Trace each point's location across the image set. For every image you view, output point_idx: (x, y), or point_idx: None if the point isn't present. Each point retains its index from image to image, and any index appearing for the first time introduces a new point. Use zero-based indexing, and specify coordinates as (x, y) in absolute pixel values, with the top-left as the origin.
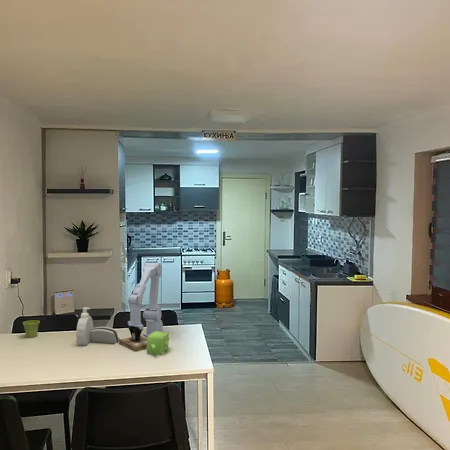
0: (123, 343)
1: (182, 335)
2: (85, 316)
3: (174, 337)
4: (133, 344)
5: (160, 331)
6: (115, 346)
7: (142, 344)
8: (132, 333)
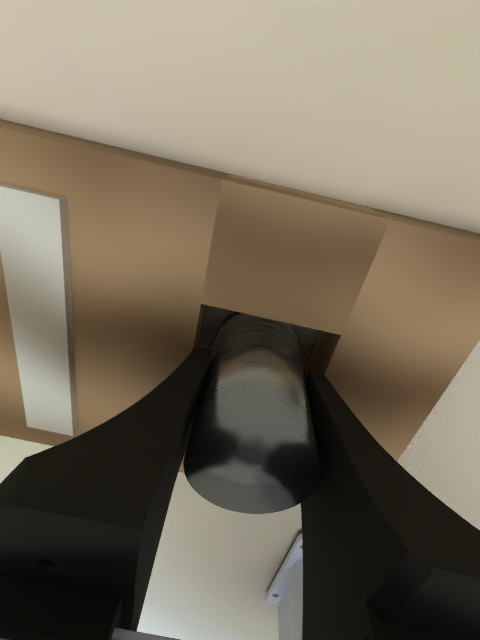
0: (363, 209)
1: (152, 616)
2: None
3: (154, 584)
4: (89, 210)
5: (284, 623)
6: (466, 88)
7: (1, 296)
8: (271, 422)
